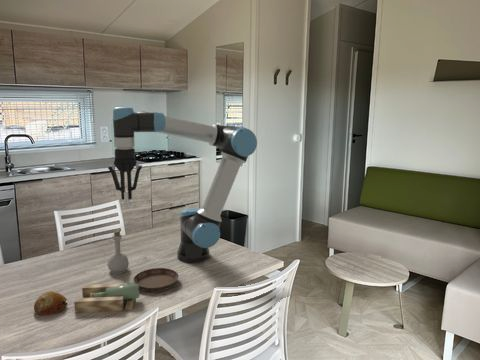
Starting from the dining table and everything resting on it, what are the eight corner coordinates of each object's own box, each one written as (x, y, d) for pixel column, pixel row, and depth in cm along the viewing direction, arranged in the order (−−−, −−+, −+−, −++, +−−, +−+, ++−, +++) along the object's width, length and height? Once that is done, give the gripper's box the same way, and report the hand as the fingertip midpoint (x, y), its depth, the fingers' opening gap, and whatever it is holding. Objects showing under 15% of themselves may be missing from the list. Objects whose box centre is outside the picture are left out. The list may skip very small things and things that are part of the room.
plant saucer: (157, 298, 152) (156, 291, 151) (124, 286, 161) (123, 279, 161) (187, 281, 167) (187, 274, 166) (155, 271, 176) (155, 264, 175)
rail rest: (136, 292, 156) (135, 282, 155) (131, 309, 143) (130, 299, 142) (84, 294, 154) (83, 284, 153) (75, 312, 141) (74, 301, 140)
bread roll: (47, 311, 149) (36, 293, 147) (73, 299, 149) (62, 281, 147) (37, 326, 139) (24, 306, 137) (64, 313, 139) (52, 293, 137)
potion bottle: (123, 275, 171) (121, 234, 167) (104, 273, 172) (101, 233, 169) (133, 267, 179) (131, 228, 175) (114, 265, 181) (112, 226, 177)
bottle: (138, 281, 150) (91, 287, 148) (136, 288, 146) (88, 294, 144) (139, 293, 152) (93, 299, 150) (138, 300, 147) (90, 306, 145)
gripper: (143, 146, 161) (144, 204, 166) (109, 146, 160) (111, 205, 164) (140, 149, 154) (142, 209, 159) (105, 149, 153) (108, 210, 157)
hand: (127, 207), depth 162 cm, fingers closed
